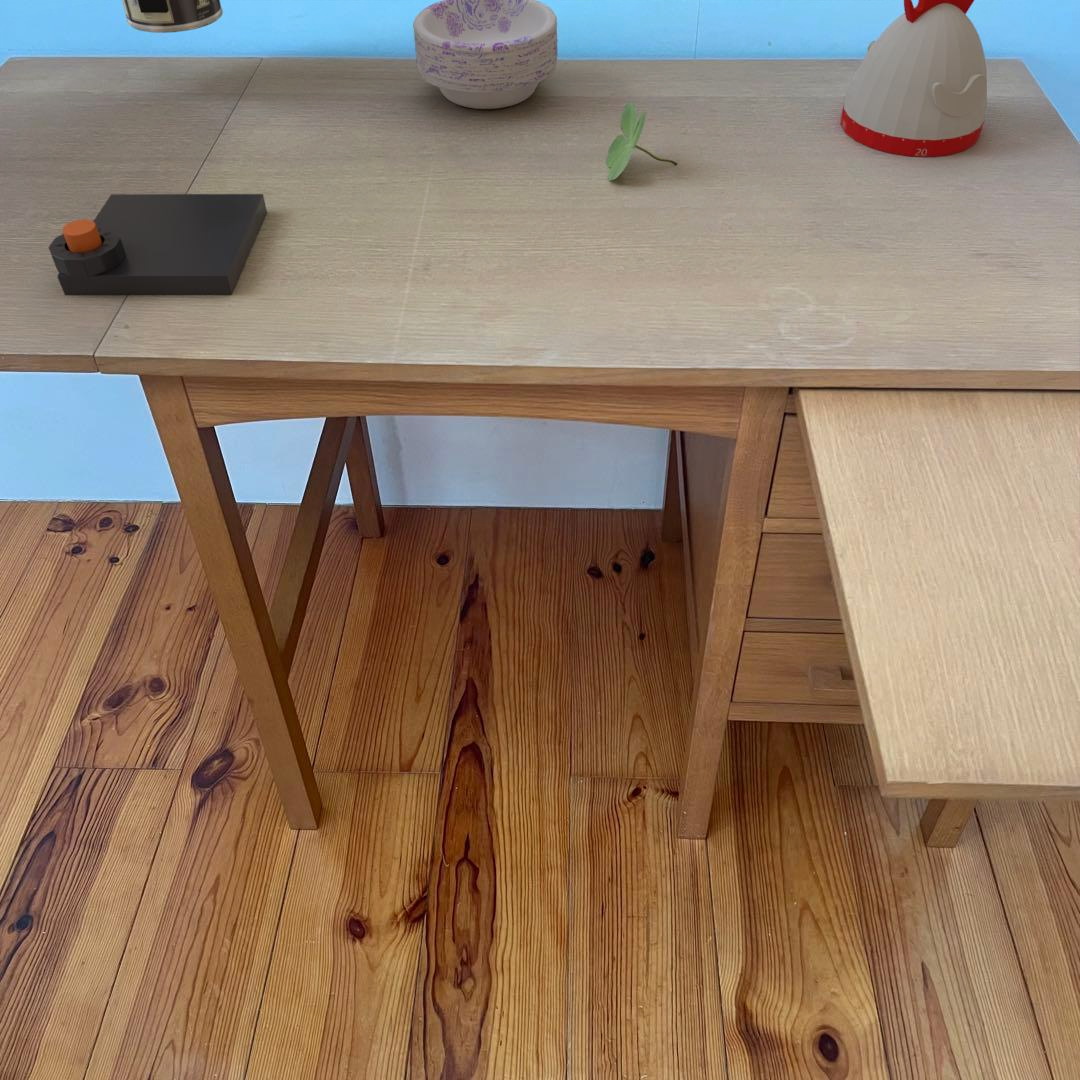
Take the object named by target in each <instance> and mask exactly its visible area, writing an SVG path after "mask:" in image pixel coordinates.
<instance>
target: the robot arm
mask: <svg viewBox="0 0 1080 1080" xmlns="http://www.w3.org/2000/svg"><path fill="white" fill-rule="evenodd" d="M138 3H139V7H140V11H141V13H167V12H168V11H169V9H168V5H167V1H166V0H138Z"/></svg>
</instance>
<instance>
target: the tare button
mask: <svg viewBox="0 0 1080 1080" xmlns="http://www.w3.org/2000/svg"><path fill="white" fill-rule="evenodd" d="M93 221H94V220H91V219H87V218H86V219H82V218H81V219H76V220H72V221H70V222H68V223H66V224H65V225H64V226H63V227H62V228H61V229H62V230H61V231H62V234H64V237H65V240H66V242H67V245H68V247H69V250H70V251H71V252H73V253H84V252H88V251H91V250H94V249H96V248H98V247H99V246H101V245H102V241H101V238H100V235H99V233H98V230H97V227H96V224H95V223H94V222H93Z"/></svg>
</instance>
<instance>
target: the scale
mask: <svg viewBox="0 0 1080 1080" xmlns="http://www.w3.org/2000/svg"><path fill="white" fill-rule="evenodd" d="M266 205H267V204H266V201H265V197H264V194H263V193H188V194H187V193H160V194H159V193H152V194H151V193H146V194H145V193H139V194H135V193H133V194H132V193H131V194H129V193H128V194H127V193H125V194H121V193H120V194H117V193H115V194H113V193H112V194H110V195H109V197H108V199H107V200H106V201H105V202H104V204H103V206H102V208H101V209H100V210H99V212H98V213H97V214H96V216H95V218H94V219H93V220H92V221H93V222H94V223H95V224H96V227H97V230H98V233H99V235H100V238H101V241H102V245H101V246H99V247H98V248H96V249H94V250H91V251H88V252H84V253H73V252H71V251H70V250H69V247H68V245H67V242H66V240H65V237H64V234H63V233H62V234H60V235H58V236H56V237H54V239H53V240H52V242H51V243H50V244H49V245H48V250H49V253H50V255H51V258H52V260H53V263H54V265H55V268H56V271H57V273H58V274H57V276H56V277H57V280H58V281H59V285H60V287H61V290H62V292H63V294H64V296H233V294H234V291H235V289H236V287H237V284H238V282H239V280H240V278H241V275H242V273H243V271H244V268H245V266H246V264H247V261H248V259H249V256H250V254H251V252H252V250H253V247H254V244H255V242H256V240H257V237H258V235H259V233H260V230H261V228H262V226H263V224H264V222H265V219H266V216H267V214H268V211H267V206H266Z"/></svg>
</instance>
